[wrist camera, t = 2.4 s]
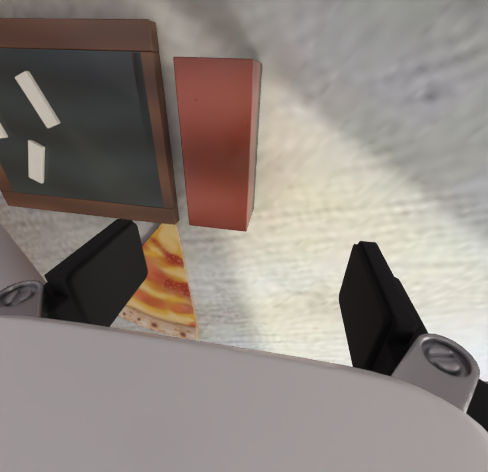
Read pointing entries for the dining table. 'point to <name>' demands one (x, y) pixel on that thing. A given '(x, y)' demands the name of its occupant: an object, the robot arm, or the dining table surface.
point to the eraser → (219, 138)
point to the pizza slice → (164, 288)
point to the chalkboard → (87, 118)
